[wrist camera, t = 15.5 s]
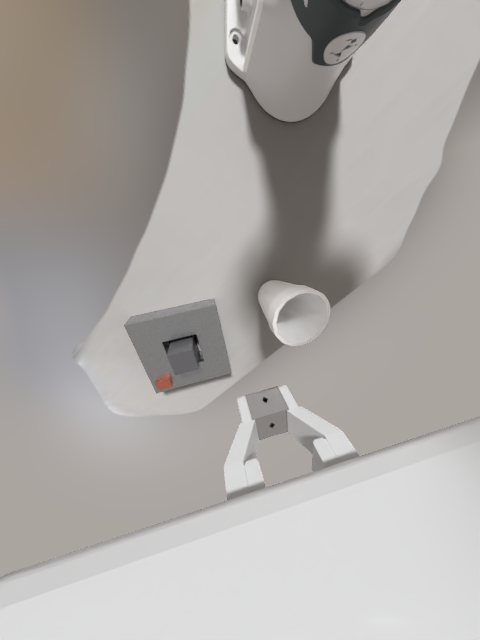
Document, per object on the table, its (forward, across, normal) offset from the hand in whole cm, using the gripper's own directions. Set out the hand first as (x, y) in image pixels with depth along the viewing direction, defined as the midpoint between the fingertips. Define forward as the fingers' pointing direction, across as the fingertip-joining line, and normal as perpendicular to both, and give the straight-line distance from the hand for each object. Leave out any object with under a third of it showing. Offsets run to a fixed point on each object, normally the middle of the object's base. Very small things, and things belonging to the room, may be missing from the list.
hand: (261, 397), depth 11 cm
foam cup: (+29, -11, +6) cm, 32 cm away
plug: (+28, +9, +12) cm, 32 cm away
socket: (+28, +9, +12) cm, 32 cm away
